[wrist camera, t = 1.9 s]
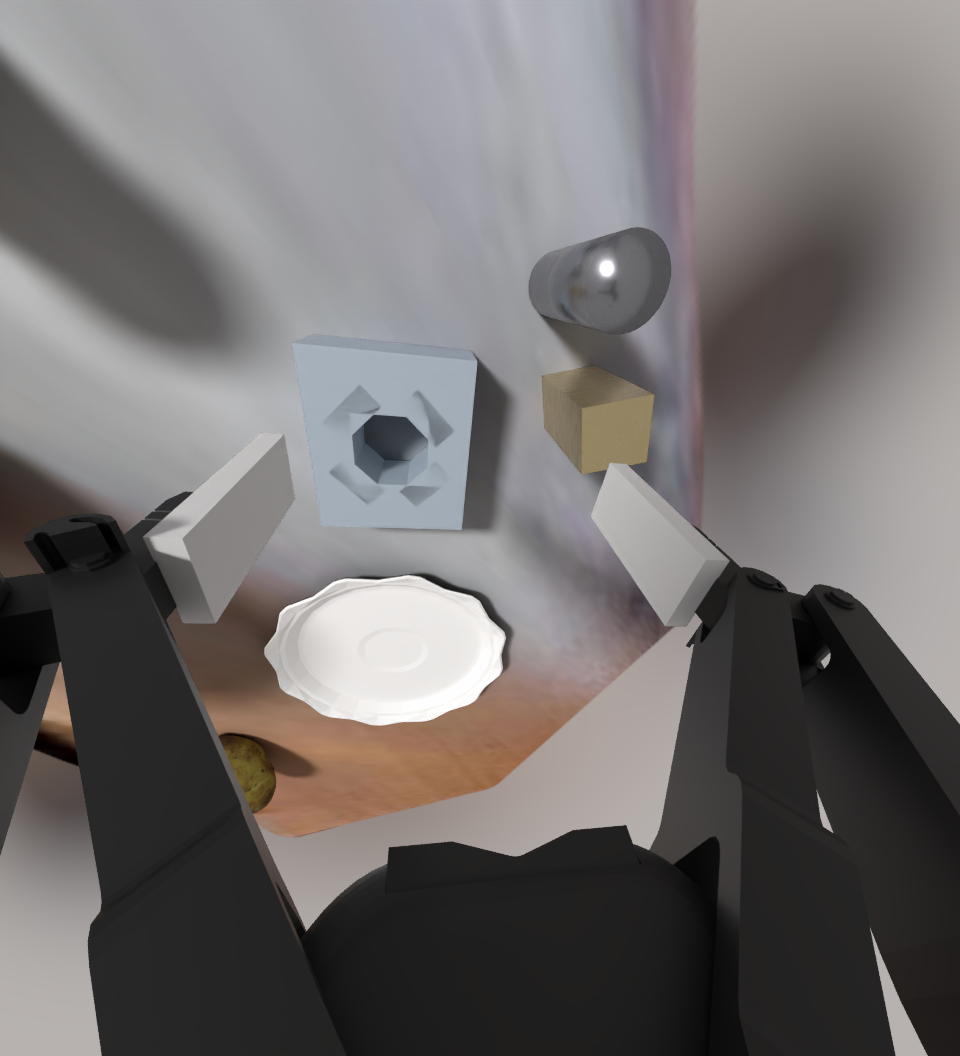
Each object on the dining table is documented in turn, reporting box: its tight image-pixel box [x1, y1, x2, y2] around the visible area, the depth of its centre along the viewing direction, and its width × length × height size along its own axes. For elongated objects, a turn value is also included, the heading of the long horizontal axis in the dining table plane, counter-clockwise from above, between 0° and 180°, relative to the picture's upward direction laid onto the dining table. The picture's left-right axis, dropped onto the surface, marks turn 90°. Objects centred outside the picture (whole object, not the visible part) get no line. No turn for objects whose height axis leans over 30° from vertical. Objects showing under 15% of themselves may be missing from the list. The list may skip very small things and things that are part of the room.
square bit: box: [542, 366, 655, 474], centre depth 28 cm, size 5×5×10 cm
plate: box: [264, 574, 506, 725], centre depth 47 cm, size 29×29×2 cm
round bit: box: [529, 227, 671, 334], centre depth 22 cm, size 4×4×12 cm
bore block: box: [292, 335, 477, 530], centre depth 30 cm, size 14×12×5 cm
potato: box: [218, 735, 276, 813], centre depth 54 cm, size 8×13×8 cm, turn 8°
